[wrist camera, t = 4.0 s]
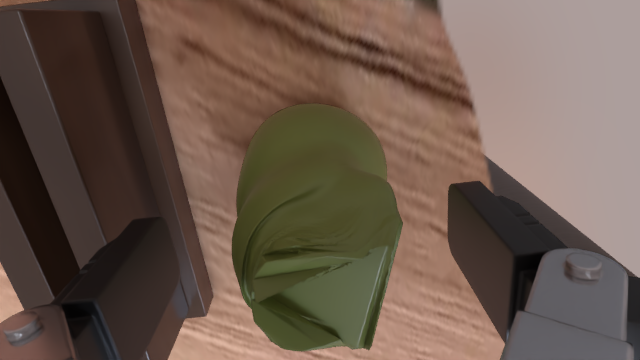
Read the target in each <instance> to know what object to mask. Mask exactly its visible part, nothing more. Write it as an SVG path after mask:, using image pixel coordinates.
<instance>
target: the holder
mask: <svg viewBox="0 0 640 360" xmlns="http://www.w3.org/2000/svg"><path fill="white" fill-rule="evenodd" d="M158 216H162V217H163V218H164V219H165V220H166V222H167V224H168V228H169V231H170V234H171V237H172V241H173V244H174V247H175V251H176V254H177V257H178V261H179V265H180V280H179V284H178V286H177V288H176V290H175V292H174V295H173V297H172V299H171V301H170V303H169V305H168V307H167V309H166V311H165V313H164V315H163V317H162V319H161V321H160V323H159V325H158V327H157V329H156V331H155V333H154V335H153V337H152V339H151V341H150V343H149V345H148V347H147V349H146V351H145V354H144V356H143V358H142V360H168V357H169V355H170V353H171V350H172V348H173V346H174V343H175V341H176V339H177V336H178V334H179V331H180V329H181V327H182V324H183V322H184V320H185V318H195V317H205V316H206V315H207V313H208V310H209V307H210V304H211V301H212V299H213V293H212V289H211V285H210V281H209V277H208V274H207V270H206V266H205V262H204V259H203V255H202V251H201V247H200V244H199V240H198V236H197V232H196V229H195V225H194V221H193V217H192V213H191V210H190V206H189V202H188V198H187V195H186V191H185V187H184V183H183V180H182V176H181V172H180V168H179V165H178V161H177V157H176V153H175V149H174V146H173V142H172V138H171V134H170V131H169V127H168V123H167V119H166V116H165V112H164V108H163V104H162V101H161V97H160V93H159V89H158V86H157V82H156V78H155V74H154V70H153V67H152V63H151V59H150V55H149V52H148V48H147V44H146V40H145V37H144V33H143V29H142V25H141V22H140V18H139V14H138V10H137V6H136V3H135V0H50V1H42V2H34V3H26V4H18V5H9V6H1V7H0V262H1V264H2V266H3V268H4V270H5V272H6V274H7V276H8V278H9V280H10V282H11V284H12V286H13V288H14V290H15V292H16V294H17V296H18V298H19V300H20V302H21V304H22V306H23V308H24V310H26V309H29V308H32V307H36V306H40V305H46V304H50V303H51V302H52V301H53V300H54V298H55V297H56V296H57V295H58V294H59V293H60V292H61V291H62V290H63V289H64V287H65V286H66V285H67V284H68V283H69V282H70V281H71V280H72V279H73V278H74V276H75V275H76V274H79V271H80V270H81V269H82V268H83V267H84V265H85V264H88V261H89V260H90V259H91V258H92V257H93V255H94V254H95V253H96V252H97V251H98V250H99V249H100V248H102V247H103V246H105V245H106V244H108V243H109V242H111V241H112V240H114V239H115V238H117V237H118V236H119V235H120V234H121V232H122V231H123V230H124V229H125V228H126V227H127V226H128V224H129V223H130V222H131V221H132V220H134V219H140V218H149V217H158Z"/></svg>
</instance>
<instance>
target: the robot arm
mask: <svg viewBox="0 0 640 360" xmlns="http://www.w3.org/2000/svg"><path fill="white" fill-rule="evenodd" d="M448 242H449V247H450V251H451V253H452V255H453V257H454V259H455V261H456V262H457V264H458V266H459V267H460V269H461V271H462V272H463V274H464V276H465V277H466V279H467V281H468V282H469V284H470V286H471V288H472V289H473V291H474V293H475V294H476V296H477V298H478V299H479V301H480V303H481V304H482V306H483V308H484V309H485V311H486V313H487V314H488V316H489V318H490V319H491V321H492V323H493V324H494V326H495V328H496V330H497V331H498V333H499V335H500V336H501V338H502V340H503V341H504V343H505V347H504V350H503V353H502V355H501V358H500V360H640V278H637V277H629V276H628V275H627V273H626V271H625V270H624V269H623V267H622V266H620V265H619V264H618V263H617V262H615V261H614V260H612V259H610V258H608V257H606V256H604V255H601V254H598V253H595V252H592V251H588V250H583V249H575V248H568V247H567V246H565V245H564V244H563V243H562V242H561V241H560V240H559V239H558V238H557V237H555V236H554V235H553V234H552V233H551V232H550V231H549V230H548V229H547V228H545V227H544V226H543V225H542V224H539V221H538V220H536V219H535V218H534V217H533V216H532V215H530V213H529V212H528V211H526V210H525V209H524V208H523V207H522V206H521V205H520V204H519V203H517V202H514V201H512V200H510V199H508V198H505V197H503V196H495V195H494V194H493V193H492V192H491V191H490V190H488V189H487V188H486V187H485V186H484V185H483V184H482V183H481V182H480V181H472V182H463V183H454V184H451V185H450V186H449V190H448ZM179 280H180V265H179V261H178V257H177V254H176V251H175V247H174V244H173V241H172V237H171V234H170V231H169V228H168V224H167V222H166V220H165V219H164V218H163V217H162V216H158V217H149V218H140V219H134V220H132V221H131V222H130V223H129V224H128V226H127V227H126V228H125V229H124V230H123V231H122V232H121V234H120V235H119V236H118V237H117V238H115V239H114V240H112V241H111V242H109V243H108V244H106V245H105V246H103V247H102V248H100V249H99V250H98V251H97V252H96V253H95V254H94V255H93V257H92V258H91V259H90V260H89V261H88V264H85V265H84V267H83V268H82V269H81V270H80V271H79V274H76V275H75V276H74V278H73V279H72V280H71V281H70V282H69V283H68V284H67V285H66V286H65V287H64V289H63V290H62V291H61V292H60V293H59V294H58V295H57V296H56V297H55V298H54V300H53V301H52V302H51V303H50V304H46V305H40V306H36V307H32V308H29V309H26V310H24V311H21V312H19V313H17V314H15V315H13V316H11V317H9V318H8V319H6V320H4V321H3V322H1V323H0V360H142V358H143V356H144V354H145V351H146V349H147V347H148V345H149V343H150V341H151V339H152V337H153V335H154V333H155V331H156V329H157V327H158V325H159V323H160V321H161V319H162V317H163V315H164V313H165V311H166V309H167V307H168V305H169V303H170V301H171V299H172V297H173V295H174V292H175V290H176V288H177V286H178V284H179Z"/></svg>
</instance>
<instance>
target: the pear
mask: <svg viewBox="0 0 640 360" xmlns="http://www.w3.org/2000/svg"><path fill="white" fill-rule="evenodd" d="M237 217H238V218H237V221H236V224H235V227H234V232H233V238H232V259H233V265H234V270H235V273H236V276H237V279H238V282H239V285H240V289H241V292H242V296H243V298H244V300H245V302H246V303H247V305H248V306H249V307H250V308H251V309H252V313H253V318H254V322H255V323H256V324H257V325H258V326H259V327H260V329H262V331H263V332H264V333H265V334H266V336H267V337H268V338H269V339H270V340H271V342H274V343H275V344H276V345H278V346H279V347H280V348H283V349H286V350H292V351H310V350H317V349H324V348H331V347H336V346H347V347H349V348H351V349H358V348H359V349H362V348H364V349H365V348H366V350H367V349H368V351H369V350H370V348H371V346H372V342H373V338H374V335H375V331H376V326H377V322H378V319H379V315H380V310H381V307H382V303H383V299H384V296H385V292H386V288H387V284H388V280H389V276H390V272H391V268H392V264H393V260H394V257H395V252H396V249H397V246H398V241H399V238H400V234H401V229H402V225H403V222H402V220H401V217H400V214H399V212H398V209H397V203H396V198H395V195H394V192H393V189H392V187H391V186H390V184H389V183H388V182H387V166H386V159H385V155H384V151H383V148H382V146H381V143H380V141H379V140H378V138H377V136H376V135H375V133H374V132H373V131H372V129H371V128H370V127H369V126H368V125H367V124H366V123H365V122H363V121H362V120H361V119H360V118H358V117H357V116H355V115H353V114H352V113H350V112H348V111H346V110H343V109H341V108H338V107H334V106H330V105H325V104H316V103H308V104H299V105H294V106H291V107H287V108H285V109H282V110H280V111H278V112H277V113H275V114H273V115H272V116H271V117H269V118H268V119H267V120H266V121H265V122H264V123H263V124H262V125H261V126H260V127H259V129H258V130H257V131H256V133H255V134H254V136H253V138H252V140H251V142H250V144H249V146H248V149H247V152H246V154H245V157H244V161H243V164H242V168H241V172H240V177H239V182H238V188H237Z"/></svg>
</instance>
